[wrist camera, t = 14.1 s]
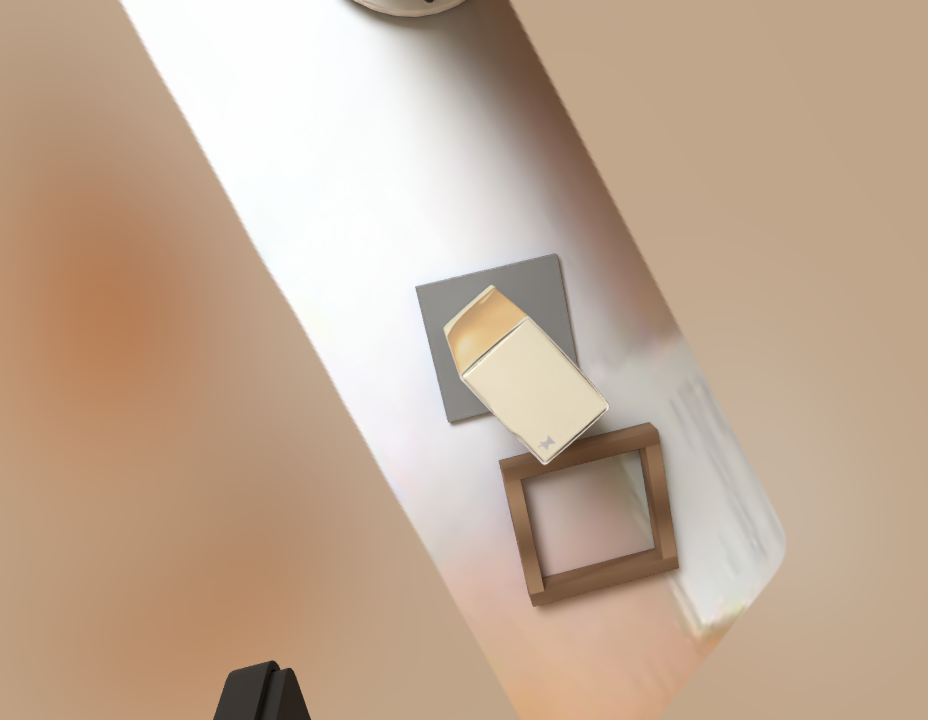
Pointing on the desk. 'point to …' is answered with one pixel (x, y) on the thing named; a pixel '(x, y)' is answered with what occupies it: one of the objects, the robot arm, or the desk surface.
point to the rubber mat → (521, 283)
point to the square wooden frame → (610, 570)
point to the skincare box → (522, 375)
